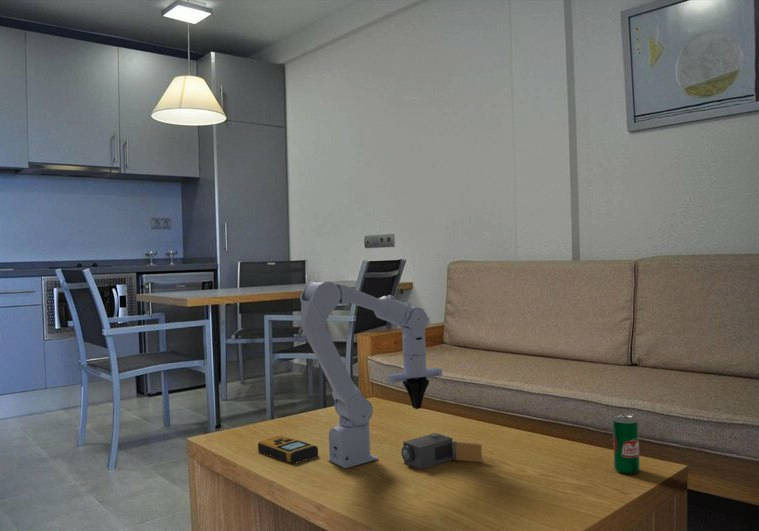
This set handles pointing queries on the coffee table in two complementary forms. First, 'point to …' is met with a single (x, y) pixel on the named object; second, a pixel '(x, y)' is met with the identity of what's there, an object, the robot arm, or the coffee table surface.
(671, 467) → the coffee table surface
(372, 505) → the coffee table surface
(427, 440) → the camera body
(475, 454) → the side door
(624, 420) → the soda can
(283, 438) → the electronic device
